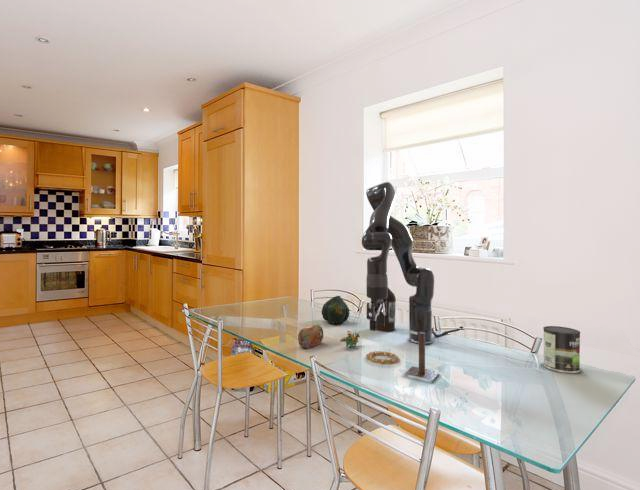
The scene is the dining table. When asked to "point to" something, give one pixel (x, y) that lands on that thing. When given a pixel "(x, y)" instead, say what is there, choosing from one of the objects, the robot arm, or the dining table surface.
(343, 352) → the dining table surface
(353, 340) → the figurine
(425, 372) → the rack
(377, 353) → the brass ring
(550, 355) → the coffee can
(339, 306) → the squash
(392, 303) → the olive oil
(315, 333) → the reddish brown stone
